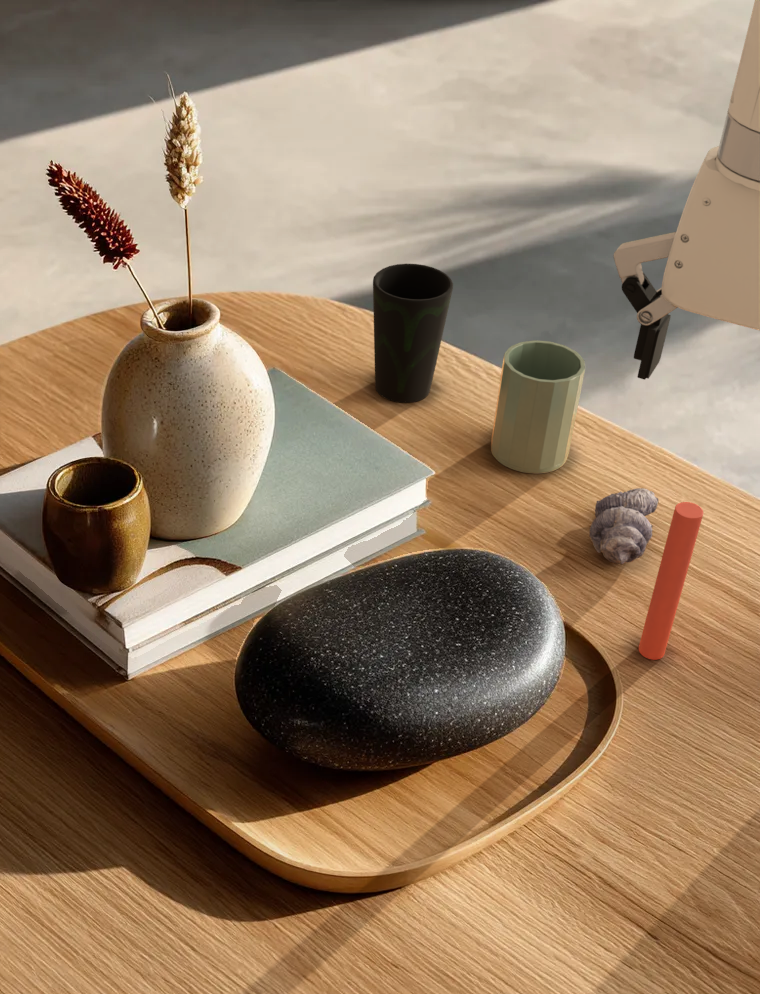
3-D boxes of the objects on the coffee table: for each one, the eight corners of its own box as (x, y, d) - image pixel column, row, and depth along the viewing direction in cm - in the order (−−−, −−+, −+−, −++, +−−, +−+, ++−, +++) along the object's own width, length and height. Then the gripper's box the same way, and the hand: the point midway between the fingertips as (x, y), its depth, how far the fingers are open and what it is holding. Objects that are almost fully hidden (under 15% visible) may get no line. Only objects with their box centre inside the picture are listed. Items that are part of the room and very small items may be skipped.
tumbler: (577, 444, 127) (595, 353, 121) (552, 482, 122) (569, 390, 116) (507, 422, 130) (521, 333, 124) (479, 458, 125) (492, 367, 119)
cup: (403, 360, 139) (413, 255, 132) (456, 391, 135) (470, 284, 127) (349, 384, 135) (356, 278, 128) (401, 417, 131) (412, 309, 123)
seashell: (612, 519, 120) (610, 593, 112) (582, 477, 118) (578, 549, 110) (667, 498, 117) (669, 572, 110) (638, 454, 115) (638, 526, 108)
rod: (667, 648, 105) (706, 507, 97) (660, 663, 104) (699, 521, 95) (642, 639, 106) (679, 498, 97) (635, 654, 104) (671, 512, 96)
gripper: (947, 159, 79) (860, 401, 90) (660, 100, 86) (611, 332, 96) (929, 205, 74) (839, 456, 84) (625, 138, 80) (577, 379, 91)
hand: (717, 390), depth 90 cm, fingers open, 9 cm apart
